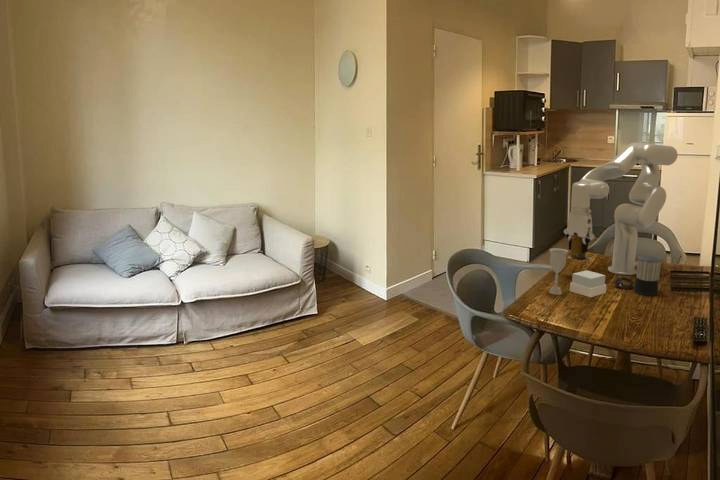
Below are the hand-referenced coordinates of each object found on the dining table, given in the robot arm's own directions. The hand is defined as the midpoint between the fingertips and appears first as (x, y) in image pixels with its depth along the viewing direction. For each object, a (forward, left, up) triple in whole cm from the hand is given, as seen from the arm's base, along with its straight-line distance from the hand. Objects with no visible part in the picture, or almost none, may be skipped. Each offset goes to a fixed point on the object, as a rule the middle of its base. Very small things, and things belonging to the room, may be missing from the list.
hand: (577, 250), depth 262 cm
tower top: (+12, +15, -9) cm, 21 cm away
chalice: (+24, +8, -13) cm, 28 cm away
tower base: (+12, +15, -13) cm, 23 cm away
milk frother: (-7, +25, -13) cm, 29 cm away
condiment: (0, +1, -3) cm, 4 cm away
